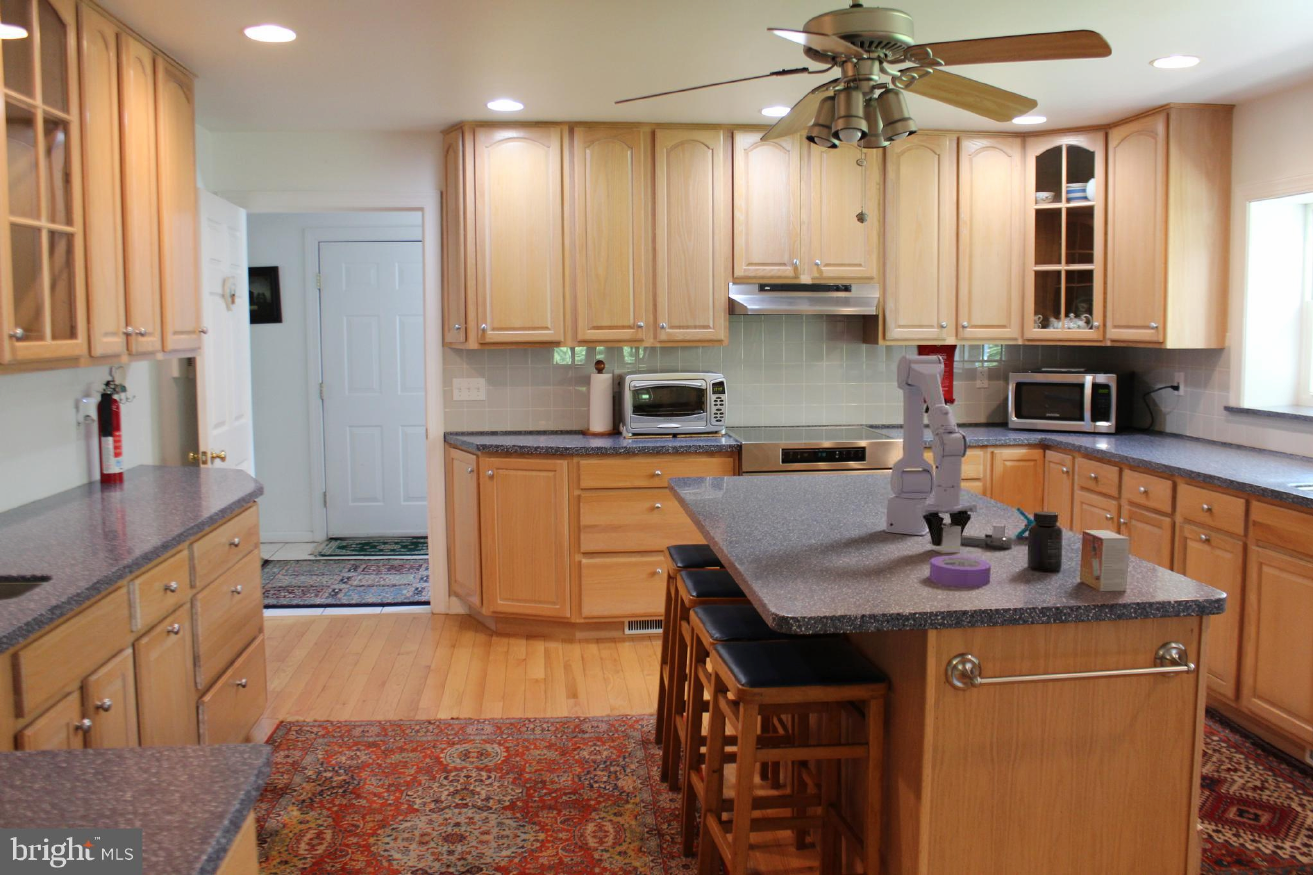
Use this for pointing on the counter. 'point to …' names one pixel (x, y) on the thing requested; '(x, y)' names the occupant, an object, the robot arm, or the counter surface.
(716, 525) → the counter surface
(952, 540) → the socket
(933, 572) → the masking tape
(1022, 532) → the gear
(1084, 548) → the small box
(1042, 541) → the supplement bottle
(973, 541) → the ratchet
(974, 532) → the counter surface
